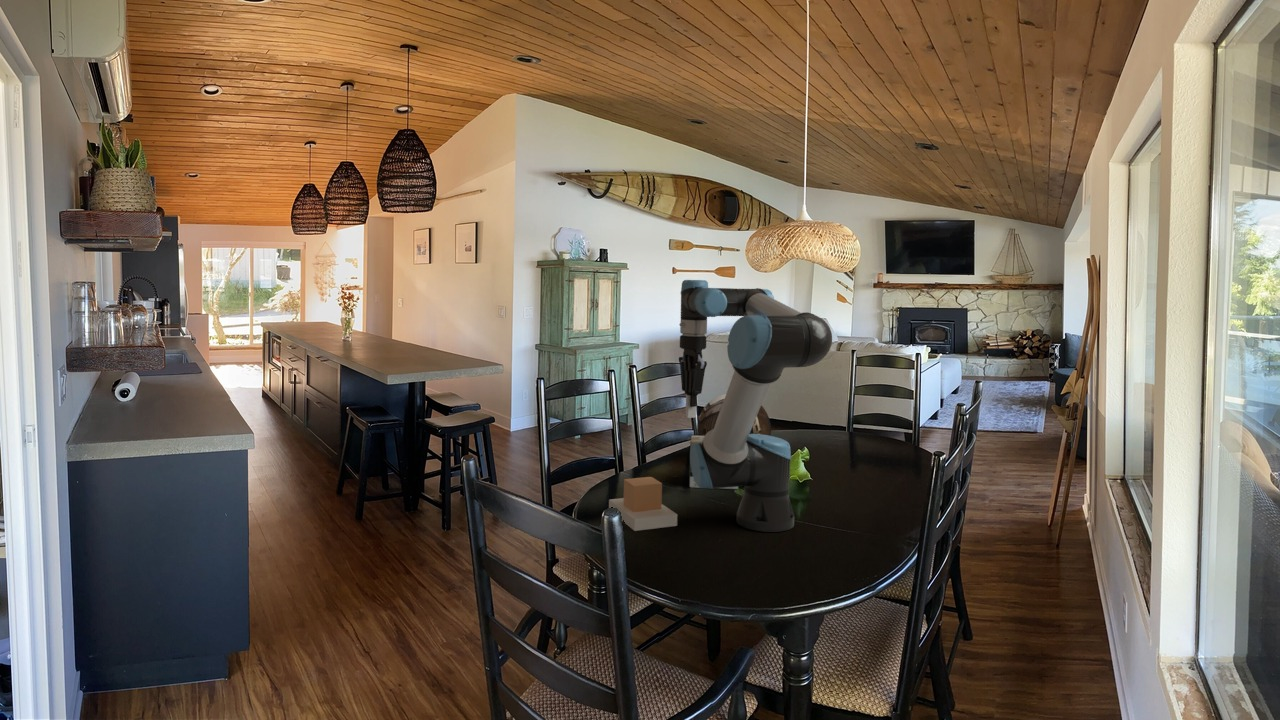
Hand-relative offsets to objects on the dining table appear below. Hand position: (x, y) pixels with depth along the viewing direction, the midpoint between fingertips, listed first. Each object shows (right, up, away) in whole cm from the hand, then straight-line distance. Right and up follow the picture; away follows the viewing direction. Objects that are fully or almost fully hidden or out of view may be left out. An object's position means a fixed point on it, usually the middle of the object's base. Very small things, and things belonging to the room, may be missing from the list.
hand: (690, 417), depth 219 cm
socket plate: (-14, -26, -14) cm, 33 cm away
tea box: (+8, -23, +20) cm, 31 cm away
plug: (-14, -26, -14) cm, 33 cm away
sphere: (+17, -20, +44) cm, 52 cm away
